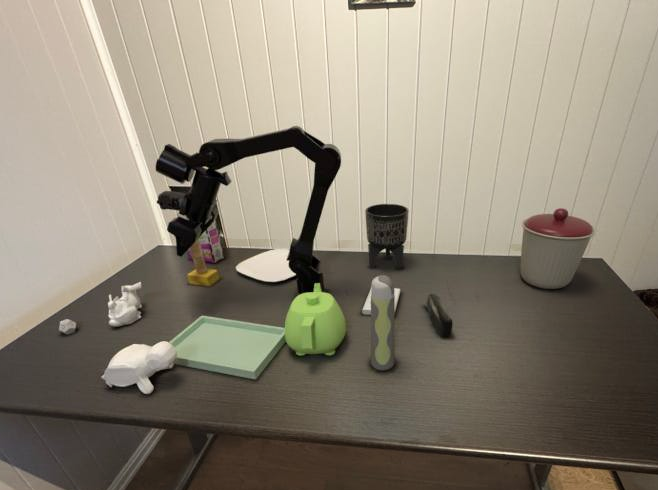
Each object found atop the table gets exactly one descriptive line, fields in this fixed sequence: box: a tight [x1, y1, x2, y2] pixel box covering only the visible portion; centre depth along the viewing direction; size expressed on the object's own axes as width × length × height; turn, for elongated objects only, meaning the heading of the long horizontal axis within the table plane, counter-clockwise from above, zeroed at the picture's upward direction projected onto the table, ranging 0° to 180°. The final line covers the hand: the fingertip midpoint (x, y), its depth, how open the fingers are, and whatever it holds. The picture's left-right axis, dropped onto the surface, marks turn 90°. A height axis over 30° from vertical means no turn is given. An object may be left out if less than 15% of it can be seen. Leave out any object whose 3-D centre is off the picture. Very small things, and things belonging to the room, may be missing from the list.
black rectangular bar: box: [424, 293, 454, 338], centre depth 90 cm, size 5×3×15 cm
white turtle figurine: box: [100, 340, 178, 395], centre depth 73 cm, size 9×8×15 cm
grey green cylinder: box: [370, 274, 395, 371], centre depth 73 cm, size 5×5×20 cm
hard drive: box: [361, 286, 401, 316], centre depth 99 cm, size 2×8×12 cm
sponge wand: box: [186, 239, 221, 287], centre depth 109 cm, size 7×5×14 cm
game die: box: [58, 318, 77, 335], centre depth 90 cm, size 4×4×3 cm
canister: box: [519, 207, 597, 290], centre depth 103 cm, size 18×18×21 cm
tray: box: [168, 315, 287, 380], centre depth 83 cm, size 24×16×2 cm, turn 74°
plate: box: [235, 248, 297, 283], centre depth 119 cm, size 22×22×2 cm
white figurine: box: [107, 281, 143, 328], centre depth 93 cm, size 12×8×10 cm, turn 168°
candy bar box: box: [175, 210, 225, 264], centre depth 123 cm, size 11×5×16 cm, turn 68°
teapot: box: [284, 283, 347, 356], centre depth 81 cm, size 20×13×13 cm
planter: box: [364, 203, 410, 270], centre depth 116 cm, size 13×13×18 cm
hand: (185, 248), depth 95 cm, fingers open, 9 cm apart
